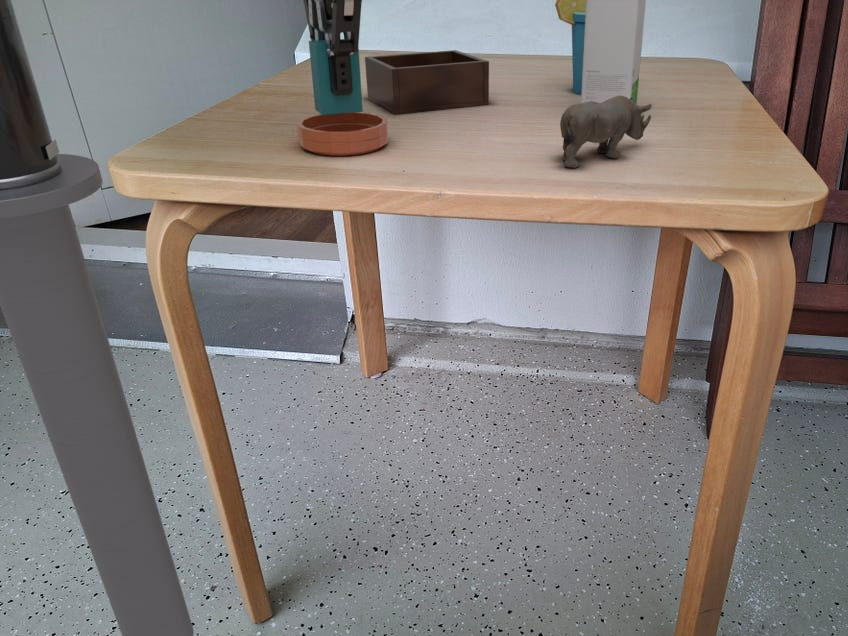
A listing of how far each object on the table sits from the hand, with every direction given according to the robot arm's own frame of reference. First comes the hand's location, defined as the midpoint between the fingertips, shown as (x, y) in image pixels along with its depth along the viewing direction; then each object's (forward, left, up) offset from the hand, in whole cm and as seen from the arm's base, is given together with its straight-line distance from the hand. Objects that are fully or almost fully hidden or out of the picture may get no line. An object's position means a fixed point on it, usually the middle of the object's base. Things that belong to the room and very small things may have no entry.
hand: (337, 90), depth 79 cm
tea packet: (0, 0, -2) cm, 2 cm away
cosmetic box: (+35, 0, -6) cm, 36 cm away
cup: (+42, +13, -6) cm, 45 cm away
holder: (+17, +17, -6) cm, 25 cm away
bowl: (0, 0, -6) cm, 6 cm away
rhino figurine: (+24, -16, -6) cm, 30 cm away
